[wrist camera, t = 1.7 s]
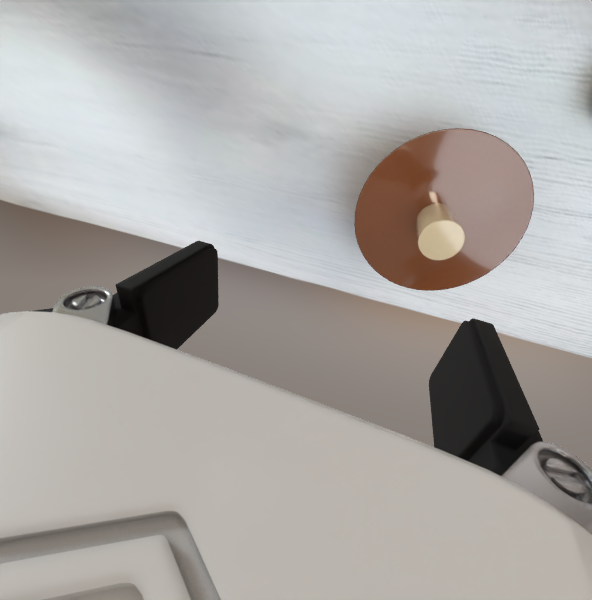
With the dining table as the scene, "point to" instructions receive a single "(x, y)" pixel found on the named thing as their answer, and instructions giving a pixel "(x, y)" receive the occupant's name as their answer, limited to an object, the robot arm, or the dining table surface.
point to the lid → (444, 209)
